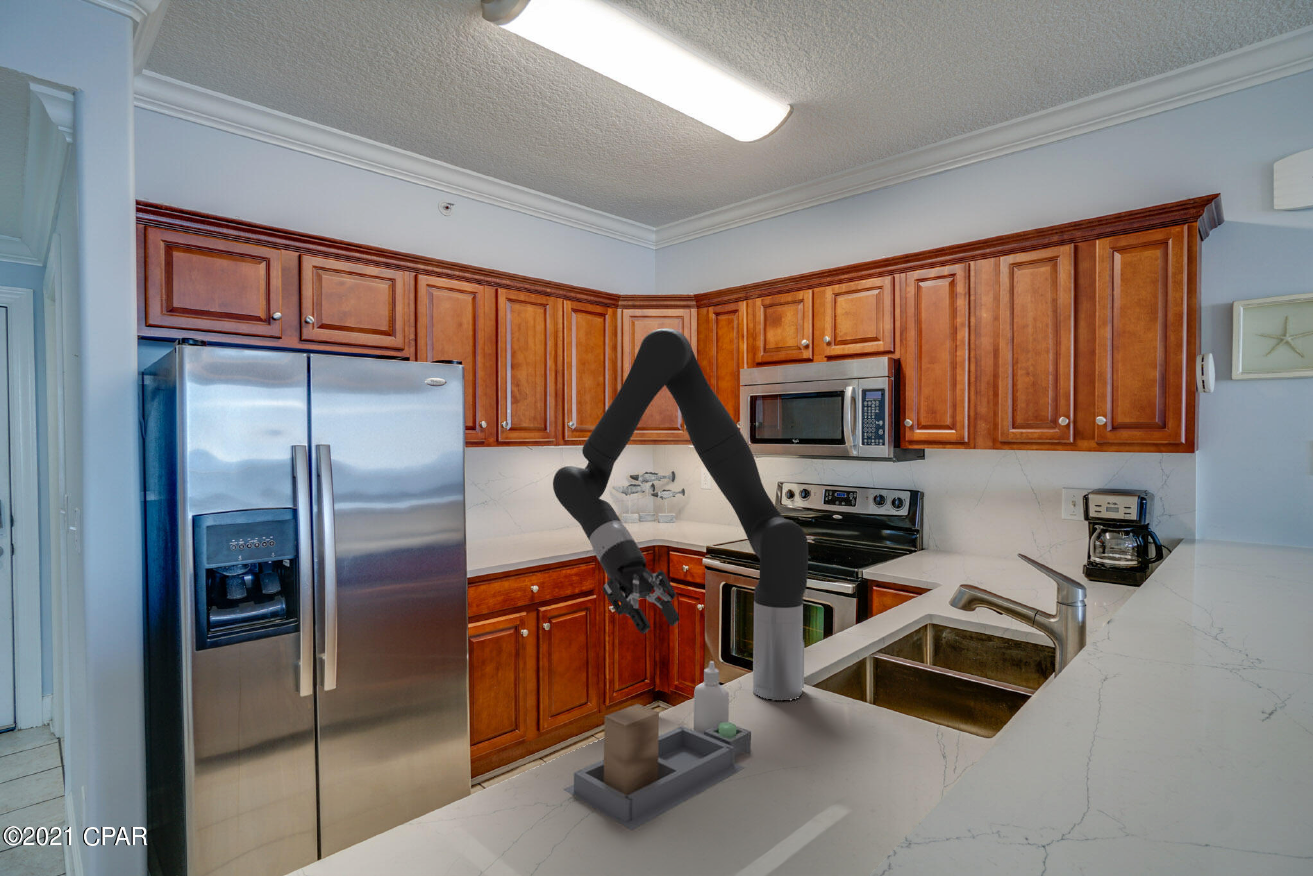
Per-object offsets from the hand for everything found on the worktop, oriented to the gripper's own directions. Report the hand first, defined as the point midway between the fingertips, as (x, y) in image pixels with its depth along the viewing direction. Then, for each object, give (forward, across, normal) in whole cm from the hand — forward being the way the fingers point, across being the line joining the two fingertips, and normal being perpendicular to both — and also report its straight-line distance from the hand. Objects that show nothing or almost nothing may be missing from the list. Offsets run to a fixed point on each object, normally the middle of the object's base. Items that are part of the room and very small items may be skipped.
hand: (661, 626), depth 115 cm
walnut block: (+22, -23, -2) cm, 32 cm away
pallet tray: (+23, -18, -1) cm, 29 cm away
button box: (+24, -4, -2) cm, 24 cm away
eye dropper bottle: (+19, 0, +3) cm, 19 cm away
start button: (+22, -4, -3) cm, 23 cm away
